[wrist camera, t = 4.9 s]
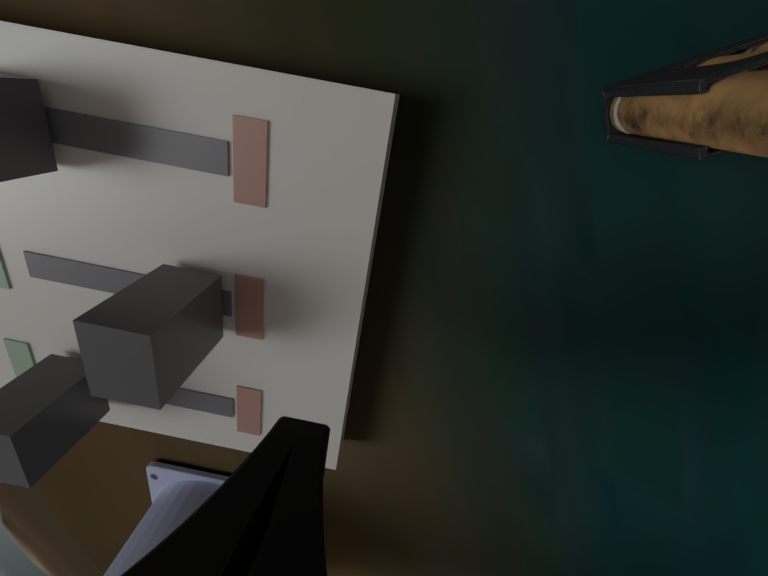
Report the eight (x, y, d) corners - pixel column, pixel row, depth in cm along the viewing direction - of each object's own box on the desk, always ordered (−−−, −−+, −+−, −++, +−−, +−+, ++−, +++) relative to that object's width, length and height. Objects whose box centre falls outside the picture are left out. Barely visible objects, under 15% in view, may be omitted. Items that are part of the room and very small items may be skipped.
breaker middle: (223, 336, 17) (160, 410, 13) (169, 326, 17) (90, 395, 13) (221, 275, 15) (150, 336, 11) (162, 263, 15) (72, 320, 12)
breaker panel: (343, 439, 22) (335, 471, 20) (-24, 364, 23) (-64, 388, 21) (399, 94, 14) (395, 93, 12) (-175, -13, 14) (-265, -29, 13)
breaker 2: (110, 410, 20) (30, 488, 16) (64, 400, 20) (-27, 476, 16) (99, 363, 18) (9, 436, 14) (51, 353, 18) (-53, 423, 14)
